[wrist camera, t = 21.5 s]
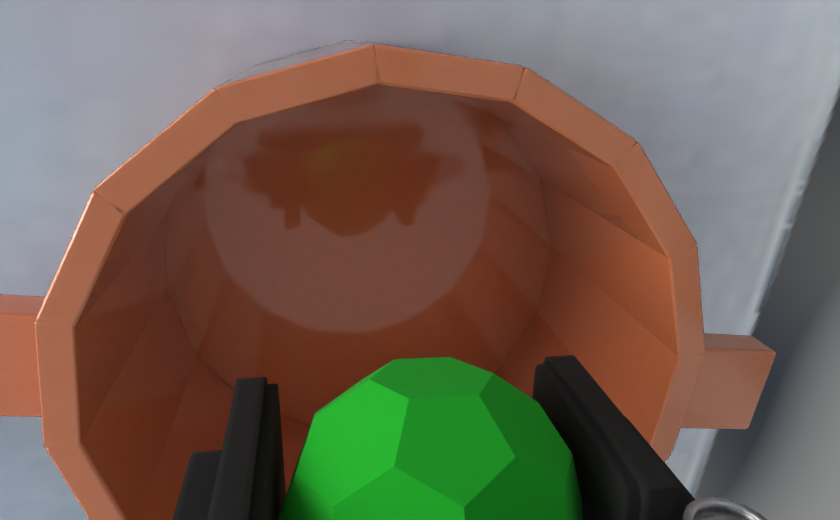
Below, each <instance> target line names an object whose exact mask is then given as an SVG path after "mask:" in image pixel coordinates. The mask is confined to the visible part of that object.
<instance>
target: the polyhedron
mask: <svg viewBox="0 0 840 520" xmlns="http://www.w3.org/2000/svg"><path fill="white" fill-rule="evenodd" d="M278 520H582V498H581V493H580V488H579V484H578V479H577V474H576V469H575V465H574V460H573V455H572V453H571V451H570V450H569V448H568V447H567V445H566V444H565V442H564V441H563V439H562V437H561V436H560V434H559V433H558V431H557V430H556V428H555V427H554V425H553V424H552V422H551V421H550V419H549V418H548V416H547V415H546V413H545V412H544V410H543V409H542V407H541V406H540V404H539V403H538V402H537V401H535V400H534V399H532V398H531V397H529V396H528V395H526V394H525V393H523V392H522V391H520V390H519V389H517V388H516V387H514V386H513V385H511V384H509V383H508V382H506V381H505V380H503V379H502V378H500V377H499V376H497V375H496V374H494V373H492V372H489V371H487V370H484V369H481V368H479V367H476V366H473V365H471V364H468V363H465V362H463V361H460V360H457V359H455V358H452V357H434V358H411V359H394V360H392V361H391V362H389V363H388V364H386V365H384V366H383V367H381V368H380V369H378V370H376V371H375V372H373V373H372V374H370V375H368V376H367V377H365V378H364V379H362V380H360V381H359V382H358V383H356V384H355V385H353V386H352V387H351V388H349V389H348V390H346V391H345V392H343V393H342V394H341V395H339V396H338V397H336V398H335V399H334V400H332V401H331V402H329V403H328V404H327V405H325V406H324V407H322V408H321V409H320V410H318V411H317V412H315V414H314V417H313V420H312V423H311V425H310V428H309V431H308V433H307V436H306V439H305V442H304V444H303V447H302V450H301V453H300V455H299V458H298V461H297V464H296V467H295V470H294V473H293V475H292V478H291V481H290V484H289V487H288V490H287V493H286V496H285V499H284V502H283V504H282V507H281V510H280V513H279V517H278Z"/></svg>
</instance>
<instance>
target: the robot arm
mask: <svg viewBox="0 0 840 520" xmlns="http://www.w3.org/2000/svg"><path fill="white" fill-rule="evenodd" d="M532 399H534V400H535V401H537V402H538V403H539V404H540V406H541V407H542V409H543V410H544V412H545V413H546V415H547V416H548V418H549V419H550V421H551V422H552V424H553V425H554V427H555V428H556V430H557V431H558V433H559V434H560V436H561V437H562V439H563V441H564V442H565V444H566V445H567V447H568V448H569V450H570V451H571V453H572V455H573V460H574V465H575V469H576V474H577V479H578V484H579V488H580V493H581V498H582V520H767V519H765V518H764V517H763V516H762V515H761V514H759V513H758V512H756V511H754V510H752V509H750V508H749V507H747V506H745V505H742V504H740V503H737V502H735V501H732V500H728V499H723V498H718V497H708V498H707V497H704V498H700V499H697V500H695V499H694V498H693V496H692V495H691V494H690V493H689V492H688V490H687V489H686V488H685V487H684V486H683V484H682V483H681V482H680V481H679V480H678V478H677V477H676V476H675V475H674V474H673V472H672V471H671V470H670V469H669V468H668V466H667V465H666V464H665V463H664V461H663V460H662V459H661V458H660V457H659V455H658V454H657V453H656V452H655V451H654V449H653V448H652V447H651V446H650V445H649V443H648V442H647V441H646V440H645V439H644V437H643V436H642V435H641V434H640V433H639V431H638V430H637V429H636V428H635V427H634V425H633V424H632V423H631V422H630V421H629V419H627V418H626V417H625V416H624V415H623V414H622V413H621V411H620V410H619V409H618V408H617V407H616V405H615V404H614V403H613V402H612V401H611V399H610V398H609V397H608V396H607V394H606V393H605V392H604V391H603V390H602V388H601V387H600V386H599V385H598V384H597V382H596V381H595V380H594V379H593V378H592V376H591V375H590V374H589V373H588V372H587V370H586V369H585V368H584V367H583V365H582V364H581V363H580V362H579V361H578V359H577V358H576V357H575V356H574V355H564V356H550V357H546V358H545V359H544V361H543V364H538V365H537V366H536V368H535V375H534V385H533V395H532ZM285 496H286V485H285V471H284V457H283V443H282V429H281V415H280V401H279V388H278V383H276V384H268V382H267V377H256V378H242V379H237V380H236V384H235V389H234V394H233V399H232V403H231V408H230V413H229V418H228V423H227V427H226V432H225V437H224V442H223V447H222V450H211V451H200V452H193V453H192V454H191V457H190V459H189V462H188V466H187V469H186V473H185V477H184V480H183V484H182V487H181V491H180V494H179V498H178V502H177V505H176V509H175V512H174V516H173V519H172V520H278V517H279V513H280V510H281V507H282V504H283V502H284V499H285Z"/></svg>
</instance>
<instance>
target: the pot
mask: <svg viewBox="0 0 840 520" xmlns="http://www.w3.org/2000/svg"><path fill="white" fill-rule="evenodd" d="M696 244H697V243H696V241H695V239H694V237H693V236H692V234H691V232H690V230H689V229H688V227H687V225H686V223H685V222H684V220H683V218H682V217H681V215H680V213H679V211H678V210H677V208H676V206H675V204H674V203H673V201H672V199H671V197H670V196H669V194H668V192H667V190H666V189H665V187H664V185H663V183H662V182H661V180H660V178H659V176H658V175H657V173H656V171H655V169H654V168H653V166H652V164H651V163H650V161H649V159H648V157H647V156H646V154H645V152H644V150H643V149H642V147H641V145H640V143H638V142H636V140H635V139H634V138H633V137H631V136H630V135H628V134H627V133H625V132H624V131H622V130H621V129H619V128H618V127H616V126H615V125H613V124H612V123H610V122H609V121H607V120H606V119H604V118H603V117H601V116H600V115H598V114H597V113H595V112H594V111H592V110H591V109H589V108H588V107H586V106H585V105H583V104H582V103H580V102H579V101H577V100H576V99H574V98H573V97H571V96H570V95H568V94H567V93H565V92H564V91H562V90H561V89H559V88H558V87H556V86H555V85H553V84H552V83H550V82H549V81H547V80H546V79H544V78H543V77H541V76H540V75H538V74H537V73H535V72H534V71H532V70H531V69H529V68H525V67H523V66H521V65H516V64H509V63H502V62H496V61H489V60H482V59H476V58H469V57H463V56H456V55H449V54H443V53H436V52H429V51H423V50H416V49H409V48H403V47H396V46H390V45H383V44H376V43H368V42H361V41H353V40H349V41H348V40H344V41H341V42H337V43H333V44H330V45H326V46H323V47H319V48H315V49H312V50H308V51H304V52H300V53H297V54H293V55H290V56H286V57H282V58H279V59H275V60H272V61H268V62H264V63H261V64H257V65H255V66H253V67H251V68H249V69H247V70H245V71H244V72H242V73H240V74H238V75H237V76H235V77H233V78H231V79H229V80H228V81H226V82H224V83H222V84H221V85H219V86H217V87H215V88H213V89H212V90H211V91H210V92H208V93H207V94H206V95H205V96H204V97H202V98H201V99H200V100H199V101H198V102H196V103H195V104H194V105H193V106H192V107H190V108H189V109H188V110H187V111H186V112H184V113H183V114H182V115H181V116H180V117H178V118H177V119H176V120H175V121H174V122H172V123H171V124H170V125H169V126H168V127H166V128H165V129H164V130H163V131H162V132H160V133H159V134H158V135H157V136H156V137H154V138H153V139H152V140H151V141H150V142H148V143H147V144H146V145H145V146H144V147H142V148H141V149H140V150H139V151H138V152H136V153H135V154H134V155H133V156H132V157H130V158H129V159H128V160H127V161H126V162H124V163H123V164H122V165H121V166H120V167H118V168H117V169H116V170H115V171H113V172H112V173H111V174H110V175H109V176H107V177H106V178H105V179H104V180H103V181H101V182H100V183H99V184H98V185H97V186H95V188H94V191H93V192H92V193H91V194H90V197H89V199H88V201H87V203H86V206H85V208H84V210H83V212H82V215H81V217H80V219H79V221H78V224H77V226H76V228H75V230H74V233H73V235H72V237H71V239H70V242H69V244H68V246H67V248H66V251H65V253H64V255H63V257H62V260H61V262H60V264H59V266H58V269H57V271H56V273H55V275H54V278H53V280H52V282H51V285H50V287H49V289H48V291H47V294H46V296H45V297H40V296H22V295H4V294H0V416H21V417H42V429H43V442H44V447H45V448H46V450H47V452H48V454H49V456H50V457H51V459H52V460H53V462H54V464H55V465H56V467H57V469H58V470H59V472H60V473H61V475H62V477H63V478H64V480H65V481H66V483H67V485H68V486H69V488H70V489H71V491H72V493H73V494H74V496H75V497H76V499H77V501H78V502H79V504H80V505H81V507H82V509H83V510H84V512H85V513H86V515H87V517H88V518H89V520H172V519H173V516H174V512H175V509H176V505H177V502H178V498H179V494H180V491H181V487H182V484H183V480H184V477H185V473H186V469H187V466H188V462H189V459H190V457H191V454H192V453H193V452H200V451H211V450H222V447H223V442H224V437H225V432H226V427H227V423H228V418H229V413H230V408H231V403H232V399H233V394H234V389H235V384H236V380H237V379H242V378H256V377H267V382H268V384H276V383H278V388H279V401H280V415H281V429H282V443H283V457H284V471H285V485H286V493H287V490H288V487H289V484H290V481H291V478H292V475H293V473H294V470H295V467H296V464H297V461H298V458H299V455H300V453H301V450H302V447H303V444H304V442H305V439H306V436H307V433H308V431H309V428H310V425H311V423H312V420H313V417H314V414H315V412H317V411H318V410H320V409H321V408H322V407H324V406H325V405H327V404H328V403H329V402H331V401H332V400H334V399H335V398H336V397H338V396H339V395H341V394H342V393H343V392H345V391H346V390H348V389H349V388H351V387H352V386H353V385H355V384H356V383H358V382H359V381H360V380H362V379H364V378H365V377H367V376H368V375H370V374H372V373H373V372H375V371H376V370H378V369H380V368H381V367H383V366H384V365H386V364H388V363H389V362H391V361H392V360H394V359H411V358H434V357H452V358H455V359H457V360H460V361H463V362H465V363H468V364H471V365H473V366H476V367H479V368H481V369H484V370H487V371H489V372H492V373H494V374H496V375H497V376H499V377H500V378H502V379H503V380H505V381H506V382H508V383H509V384H511V385H513V386H514V387H516V388H517V389H519V390H520V391H522V392H523V393H525V394H526V395H528V396H529V397H531V398H532V395H533V385H534V375H535V368H536V366H537V365H538V364H543V361H544V359H545V358H546V357H550V356H564V355H574V356H575V357H576V358H577V359H578V361H579V362H580V363H581V364H582V365H583V367H584V368H585V369H586V370H587V372H588V373H589V374H590V375H591V376H592V378H593V379H594V380H595V381H596V382H597V384H598V385H599V386H600V387H601V388H602V390H603V391H604V392H605V393H606V394H607V396H608V397H609V398H610V399H611V401H612V402H613V403H614V404H615V405H616V407H617V408H618V409H619V410H620V411H621V413H622V414H623V415H624V416H625V417H626V418H627V419H629V421H630V422H631V423H632V424H633V425H634V427H635V428H636V429H637V430H638V431H639V433H640V434H641V435H642V436H643V437H644V439H645V440H646V441H647V442H648V443H649V445H650V446H651V447H652V448H653V449H654V451H655V452H656V453H657V454H658V455H659V457H660V458H661V459H662V460H663V461H664V463H665V461H666V460H667V459H668V458H669V456H670V455H671V452H672V451H673V449H674V446H675V443H676V440H677V437H678V434H679V431H680V428H712V429H747V428H748V427H749V425H750V422H751V420H752V417H753V414H754V412H755V409H756V406H757V404H758V401H759V399H760V396H761V393H762V391H763V388H764V385H765V383H766V380H767V377H768V375H769V372H770V369H771V367H772V364H773V361H774V359H775V356H776V352H775V351H773V350H772V349H771V348H769V347H768V346H766V345H765V344H763V343H762V342H760V341H759V340H757V339H756V338H754V337H753V336H747V335H729V334H710V333H704V329H703V316H702V302H701V289H700V276H699V262H698V249H697V245H696Z"/></svg>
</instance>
